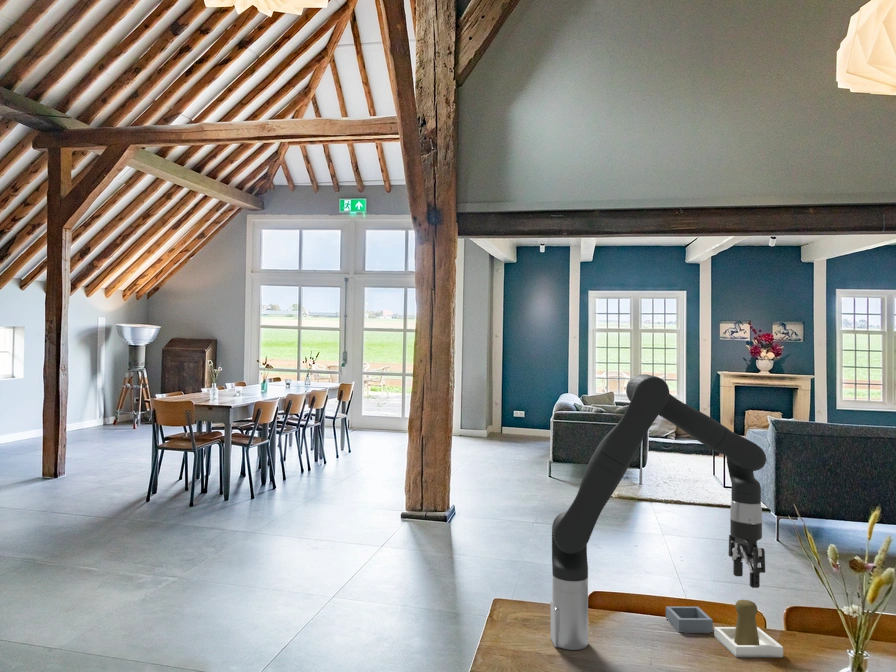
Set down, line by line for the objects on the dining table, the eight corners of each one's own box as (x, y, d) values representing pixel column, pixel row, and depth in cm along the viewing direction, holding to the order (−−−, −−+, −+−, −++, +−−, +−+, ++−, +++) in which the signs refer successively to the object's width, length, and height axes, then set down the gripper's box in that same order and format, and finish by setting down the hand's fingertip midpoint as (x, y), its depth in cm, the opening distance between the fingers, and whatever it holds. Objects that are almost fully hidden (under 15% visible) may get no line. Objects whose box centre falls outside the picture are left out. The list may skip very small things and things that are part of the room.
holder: (678, 632, 168) (678, 619, 168) (665, 618, 177) (665, 606, 177) (712, 632, 168) (712, 619, 168) (698, 618, 177) (697, 606, 178)
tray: (736, 657, 154) (735, 646, 154) (714, 636, 166) (714, 626, 166) (783, 657, 154) (783, 647, 154) (758, 636, 166) (757, 627, 166)
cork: (762, 650, 156) (762, 606, 157) (737, 648, 158) (736, 604, 158) (756, 640, 162) (755, 598, 163) (731, 638, 163) (730, 596, 164)
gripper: (719, 512, 169) (719, 572, 168) (745, 525, 154) (745, 591, 154) (746, 512, 169) (746, 572, 168) (775, 526, 155) (775, 591, 154)
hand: (746, 581), depth 161 cm, fingers open, 8 cm apart
